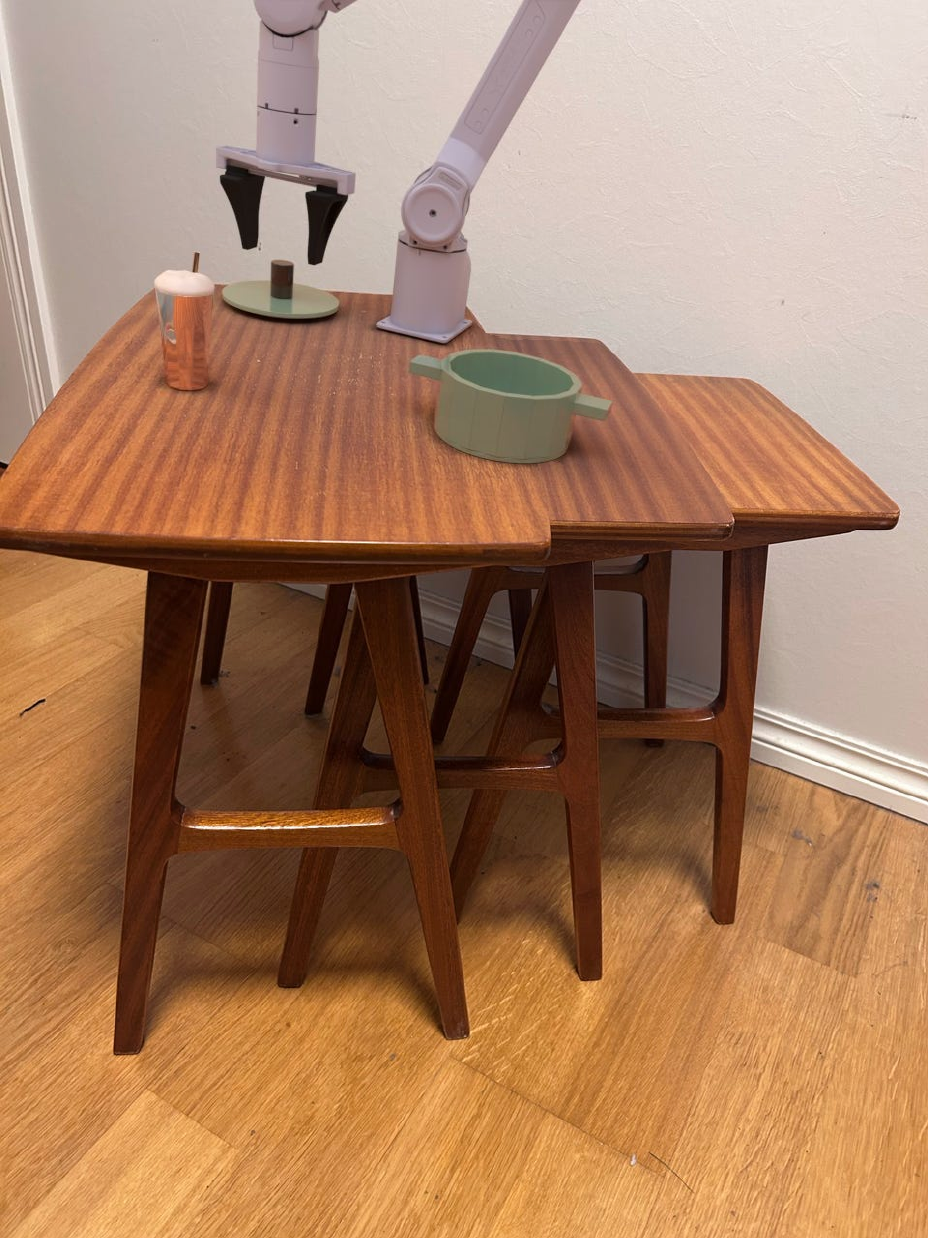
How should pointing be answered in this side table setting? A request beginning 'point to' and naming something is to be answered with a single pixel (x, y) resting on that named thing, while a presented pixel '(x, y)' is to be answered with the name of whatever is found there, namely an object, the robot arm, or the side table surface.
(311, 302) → the pot lid
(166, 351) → the milkshake
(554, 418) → the green cooking pot
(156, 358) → the side table surface
